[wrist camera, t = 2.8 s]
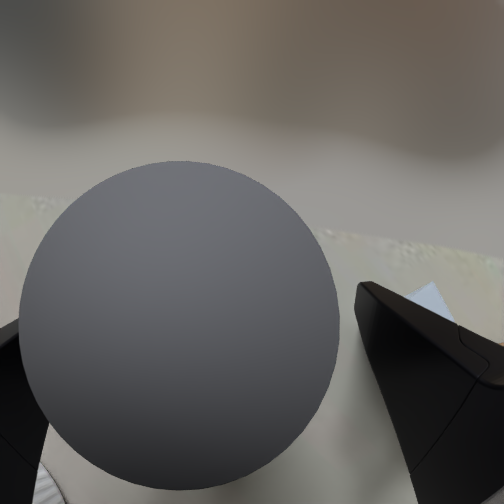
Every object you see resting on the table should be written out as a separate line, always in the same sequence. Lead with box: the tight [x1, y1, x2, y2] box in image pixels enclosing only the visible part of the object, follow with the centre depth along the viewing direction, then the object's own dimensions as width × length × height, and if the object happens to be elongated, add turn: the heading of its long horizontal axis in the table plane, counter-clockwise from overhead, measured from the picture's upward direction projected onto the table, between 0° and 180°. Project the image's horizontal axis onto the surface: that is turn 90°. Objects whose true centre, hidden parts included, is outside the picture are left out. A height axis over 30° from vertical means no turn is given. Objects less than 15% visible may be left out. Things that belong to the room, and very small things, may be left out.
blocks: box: [405, 281, 455, 322], centre depth 8 cm, size 28×2×6 cm, turn 27°
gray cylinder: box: [19, 161, 340, 490], centre depth 9 cm, size 5×5×12 cm
